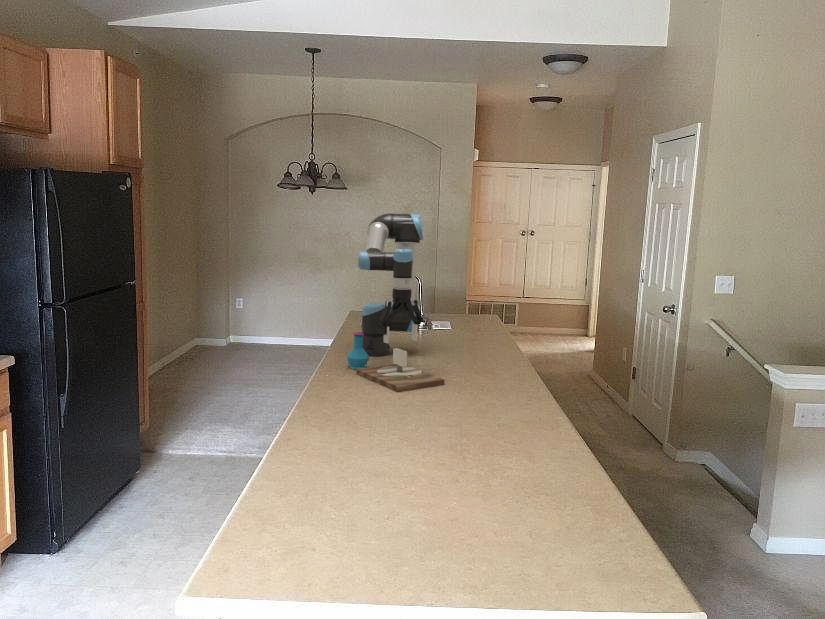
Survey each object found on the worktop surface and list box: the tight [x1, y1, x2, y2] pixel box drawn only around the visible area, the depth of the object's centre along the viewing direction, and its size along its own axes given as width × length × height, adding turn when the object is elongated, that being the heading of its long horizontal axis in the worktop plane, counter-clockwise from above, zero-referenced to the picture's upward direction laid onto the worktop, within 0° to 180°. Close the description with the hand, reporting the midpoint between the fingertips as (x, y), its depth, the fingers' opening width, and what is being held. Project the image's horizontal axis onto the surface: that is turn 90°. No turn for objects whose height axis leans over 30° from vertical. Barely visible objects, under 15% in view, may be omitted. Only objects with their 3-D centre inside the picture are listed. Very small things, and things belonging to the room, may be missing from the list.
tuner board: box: [355, 363, 446, 393], centre depth 262 cm, size 30×22×2 cm
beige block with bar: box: [379, 347, 408, 374], centre depth 263 cm, size 7×11×9 cm, turn 125°
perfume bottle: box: [346, 331, 370, 370], centre depth 278 cm, size 9×9×15 cm
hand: (400, 341), depth 263 cm, fingers open, 13 cm apart
